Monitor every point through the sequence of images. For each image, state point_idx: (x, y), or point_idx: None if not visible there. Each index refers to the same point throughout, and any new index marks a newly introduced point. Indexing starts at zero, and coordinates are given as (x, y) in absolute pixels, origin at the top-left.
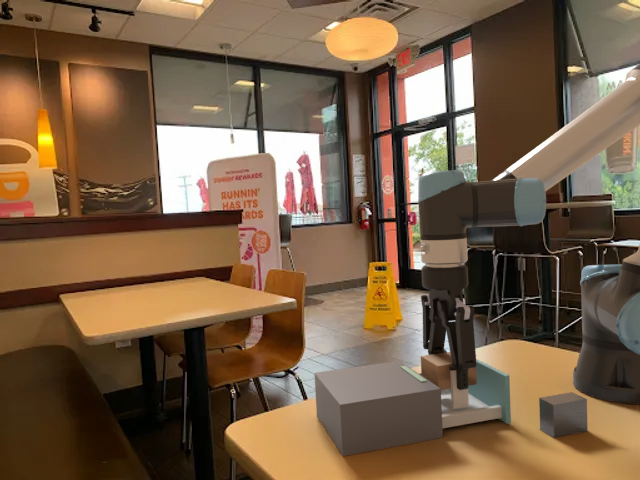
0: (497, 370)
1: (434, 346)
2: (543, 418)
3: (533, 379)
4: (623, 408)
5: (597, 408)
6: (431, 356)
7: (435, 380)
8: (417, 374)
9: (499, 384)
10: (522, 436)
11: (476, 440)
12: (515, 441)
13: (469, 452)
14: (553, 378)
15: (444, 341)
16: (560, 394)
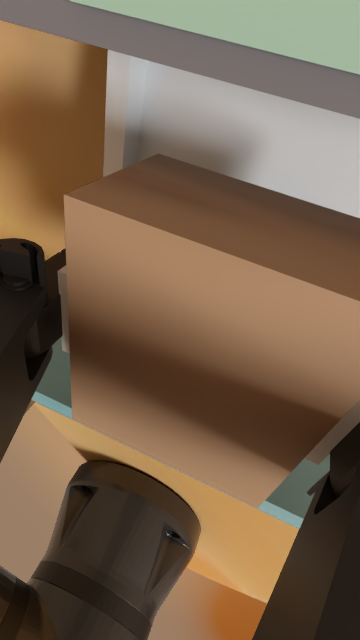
0: (57, 408)
1: (345, 498)
2: None
3: (254, 508)
4: (83, 447)
5: (97, 434)
6: (309, 368)
7: (169, 174)
8: (251, 36)
9: (62, 359)
10: (48, 258)
11: (62, 139)
12: (31, 224)
13: (3, 45)
14: (230, 518)
15: (283, 568)
16: None
